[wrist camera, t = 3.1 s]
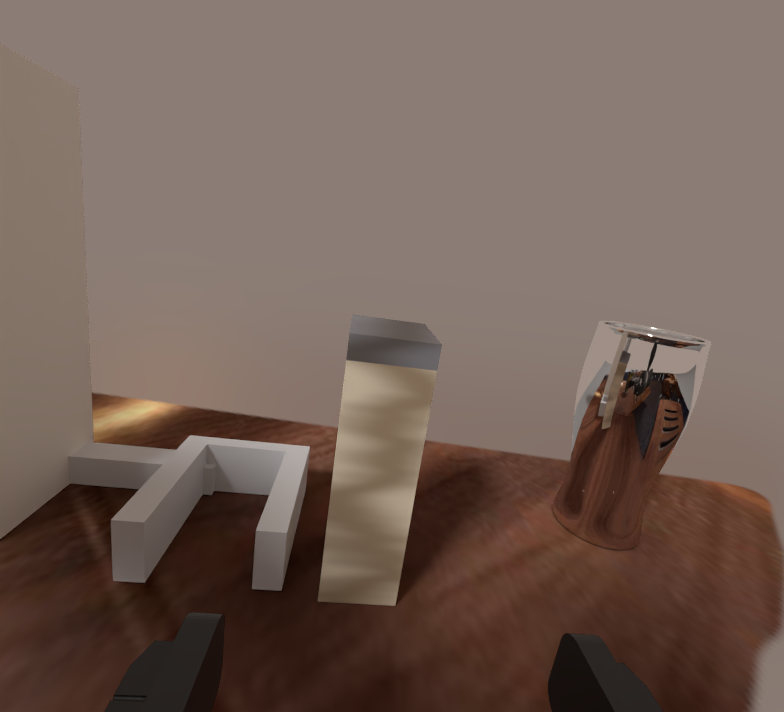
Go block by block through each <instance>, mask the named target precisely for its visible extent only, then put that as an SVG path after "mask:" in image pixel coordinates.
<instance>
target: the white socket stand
mask: <svg viewBox="0 0 784 712" xmlns="http://www.w3.org/2000/svg"><path fill="white" fill-rule="evenodd" d="M79 111H80V109H79V88H78V87H76V86H74V85H72V84H71V83H69V82H67V81H65V80H63V79H62V78H60V77H58V76H57V75H55V74H53V73H51V72H49V71H48V70H46V69H44V68H43V67H41V66H39V65H37V64H36V63H34V62H32V61H30V60H28V59H27V58H25V57H23V56H22V55H20V54H18V53H16V52H15V51H13V50H11V49H9V48H8V47H6V46H4V45H2V44H1V43H0V539H1V538H2V537H4V536H5V535H6V534H7V533H9V532H10V531H11V530H12V529H14V528H15V527H16V526H17V525H19V524H20V523H21V522H23V521H24V520H25V519H26V518H28V517H29V516H30V515H31V514H33V513H34V512H35V511H36V510H38V509H39V508H40V507H41V506H43V505H44V504H45V503H46V502H48V501H49V500H50V499H51V498H53V497H54V496H55V495H56V494H58V493H59V492H60V491H61V490H63V489H64V488H65V487H66V486H68V485H69V484H81V485H94V486H106V487H118V488H131V489H139V490H138V491H137V492H136V493H135V495H134V496H133V497H132V498H131V499H130V500H129V501H128V502H127V503H126V504H125V505H124V506H123V507H122V508H121V510H120V511H119V512H118V513H117V514H116V515H115V516H114V517H113V518H112V519H111V543H112V573H113V581H121V582H138V583H145V582H146V580H147V579H148V577H149V576H150V574H151V573H152V571H153V569H154V568H155V566H156V565H157V563H158V562H159V560H160V559H161V557H162V556H163V554H164V553H165V551H166V550H167V548H168V547H169V545H170V544H171V542H172V540H173V539H174V537H175V536H176V534H177V533H178V531H179V530H180V528H181V527H182V525H183V524H184V522H185V521H186V519H187V518H188V516H189V515H190V513H191V512H192V510H193V508H194V507H195V505H196V504H197V502H198V501H199V499H200V498H201V496H202V495H203V494H205V495H212V494H213V493H214V491H223V492H235V493H247V494H259V495H269V497H268V500H267V503H266V505H265V508H264V510H263V513H262V516H261V518H260V521H259V524H258V526H257V529H256V535H255V549H254V564H253V578H252V589H258V590H275V591H282V587H283V583H284V579H285V574H286V570H287V566H288V562H289V558H290V553H291V549H292V545H293V541H294V537H295V532H296V528H297V524H298V520H299V516H300V512H301V507H302V503H303V499H304V495H305V491H306V482H307V472H308V462H309V452H310V447H308V446H298V445H287V444H277V443H266V442H256V441H245V440H235V439H224V438H214V437H203V436H193V435H190V436H189V437H188V438H187V439H186V440H185V441H184V442H183V443H182V444H181V445H180V446H179V447H178V449H177V450H172V449H161V448H150V447H140V446H129V445H118V444H107V443H96V442H94V437H93V414H92V390H91V367H90V344H89V321H88V296H87V274H86V251H85V229H84V228H85V227H84V203H83V179H82V157H81V132H80V112H79Z"/></svg>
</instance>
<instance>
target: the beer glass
mask: <svg viewBox="0 0 784 712" xmlns="http://www.w3.org/2000/svg"><path fill="white" fill-rule="evenodd" d="M711 344H712V343H711V342H710V341H708V340H705V339H702V338H699V337H695V336H691V335H687V334H683V333H678V332H674V331H669V330H664V329H659V328H653V327H648V326H642V325H635V324H630V323H623V322H614V321H599V324H598V328H597V330H596V333H595V336H594V339H593V341H592V344H591V347H590V349H589V352H588V355H587V358H586V361H585V364H584V367H583V371H582V374H581V378H580V382H579V386H578V390H577V396H576V404H575V411H574V425H573V439H572V451H571V459H570V464H569V468H568V471H567V475H566V477H565V479H564V482H563V484H562V486H561V487H560V489H559V491H558V493H557V495H556V497H555V499H554V501H553V505H552V510H553V513H554V515H555V517H556V518H557V520H558V521H559V522H560V523H561V524H562V525H563V526H564V527H565V528H566V529H567V530H569V531H570V532H572V533H573V534H575V535H576V536H578V537H580V538H581V539H583V540H585V541H587V542H590V543H592V544H595V545H597V546H601V547H604V548H608V549H614V550H627V549H631V548H634V547H635V546H636V545H637V544H638V543H639V540H640V536H641V527H642V516H643V509H644V505H645V501H646V498H647V495H648V493H649V490H650V488H651V486H652V484H653V482H654V481H655V479H656V477H657V475H658V474H659V472H660V470H661V469H662V467H663V465H664V464H665V462H666V461H667V459H668V458H669V456H670V454H671V453H672V451H673V449H674V448H675V446H676V444H677V443H678V441H679V439H680V437H681V435H682V433H683V431H684V429H685V428H686V425H687V424H688V421H689V418H690V416H691V413H692V411H693V408H694V406H695V403H696V399H697V396H698V393H699V390H700V386H701V382H702V378H703V374H704V370H705V366H706V361H707V357H708V353H709V349H710V346H711Z"/></svg>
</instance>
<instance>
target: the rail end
mask: <svg viewBox="0 0 784 712" xmlns="http://www.w3.org/2000/svg"><path fill="white" fill-rule="evenodd" d="M441 346H442V344H441V343H440V342H439V341H438V339H437V338H436V337H435V336H434V335H433V334H432V332H431V331H430V330H429V329H428V328H427V326H426V325H425V324H420V323H412V322H404V321H397V320H389V319H382V318H374V317H366V316H358V315H352V322H351V328H350V334H349V343H348V351H347V360H346V368H345V376H344V385H343V393H342V402H341V410H340V418H339V426H338V435H337V443H336V452H335V460H334V468H333V477H332V485H331V494H330V502H329V510H328V519H327V527H326V536H325V544H324V552H323V561H322V569H321V577H320V586H319V594H318V602H335V603H353V604H371V605H388V606H395V605H396V600H397V594H398V588H399V583H400V577H401V571H402V566H403V560H404V555H405V549H406V543H407V538H408V532H409V526H410V521H411V515H412V509H413V504H414V498H415V493H416V487H417V481H418V476H419V470H420V464H421V459H422V453H423V447H424V442H425V436H426V431H427V425H428V419H429V414H430V408H431V402H432V397H433V391H434V385H435V380H436V374H437V369H438V363H439V357H440V352H441Z"/></svg>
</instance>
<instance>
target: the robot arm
mask: <svg viewBox="0 0 784 712" xmlns="http://www.w3.org/2000/svg"><path fill="white" fill-rule="evenodd" d="M224 624H225V616H224V614H211V613H192V612H190V613H188V615H187V616H186V617H185V619H184V621H183V623H182V625H181V627H180V629H179V631H178V633H177V635H176V637H175V639H174V641H154V642H153V643H152V644H151V645H150V646H149V647H148V648H147V649H146V650H145V651H144V652H143V653H142V654H141V655H140V656H139V657H138V658H137V659H136V660H135V661H134V662H133V663H132V664H131V665H130V667H129V669H128V671H127V673H126V674H125V676H124V678H123V680H122V681H121V683H120V685H119V687H118V689H117V690H116V692H115V694H114V697H113V700H112V701H110V703H109V705H108V706H107V708H106V710H105V712H211V711H212V708H213V705H214V702H215V698H216V695H217V691H218V687H219V683H220V678H221V672H222V663H223V644H224ZM548 694H549V701H550V705H551V709H552V712H663V711H662V709H661V708H660V706H659V705H658V703H657V702H656V700H655V698H654V697H653V695H652V694H651V692H650V691H649V689H648V688H647V686H646V685H645V684H644V683H643V682H642V681H641V680H640V679H639V678H638V677H637V676H636V675H635V674H634V673H633V672H632V671H631V670H630V669H629V668H628V667H627V666H626V665H625V664H624V663H617V662H616V661H615V659H614V657H613V656H612V654H611V653H610V651H609V649H608V648H607V646H606V644H605V643H604V641H603V640H602V639H601V638H600V637H599V636H597V635H589V634H570V633H566V634H564V635H563V636H562V639H561V641H560V645H559V648H558V651H557V654H556V658H555V661H554V664H553V667H552V671H551V674H550V677H549V682H548Z"/></svg>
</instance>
